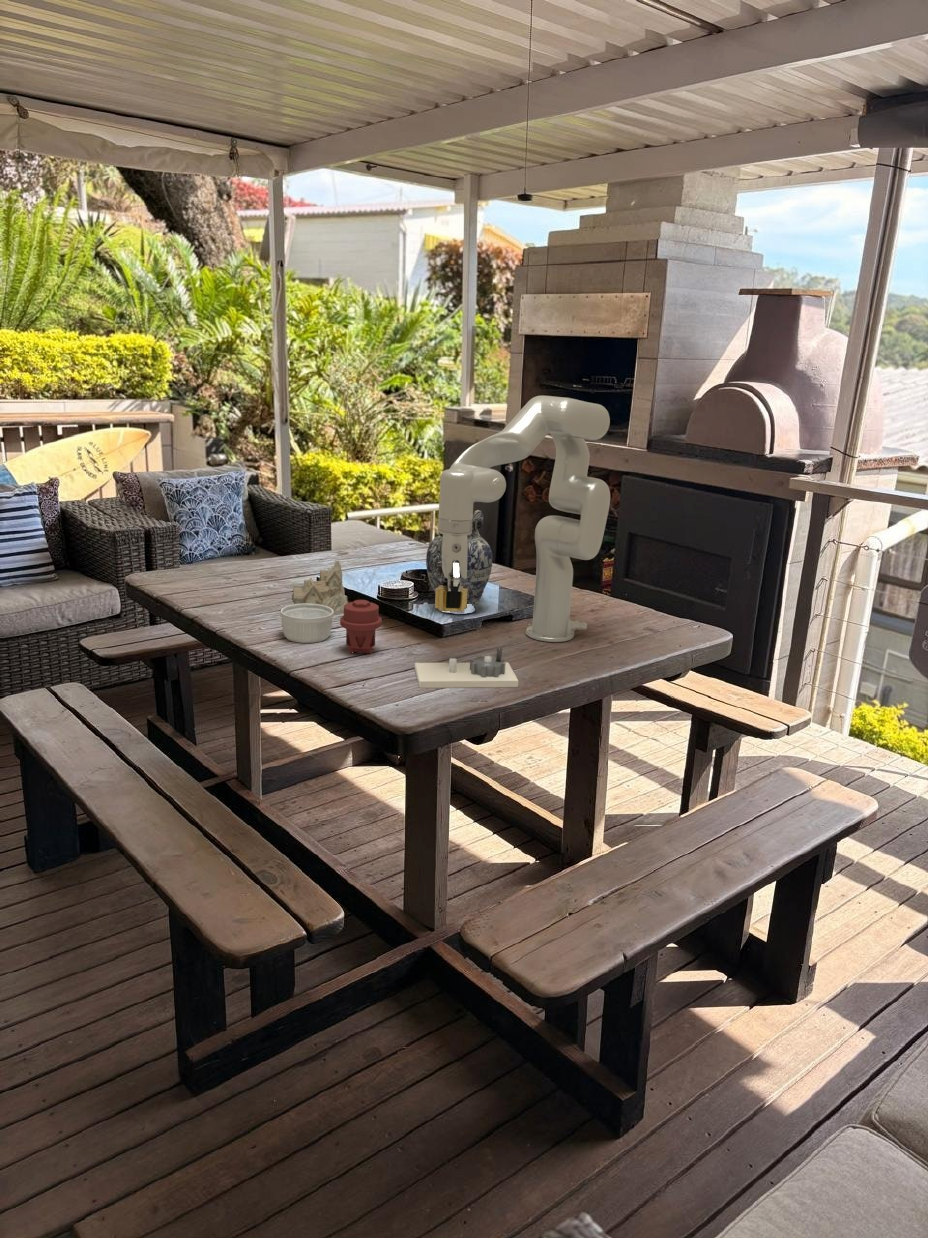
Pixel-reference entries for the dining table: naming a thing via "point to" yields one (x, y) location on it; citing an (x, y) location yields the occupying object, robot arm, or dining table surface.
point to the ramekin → (307, 622)
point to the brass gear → (441, 599)
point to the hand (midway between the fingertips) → (451, 602)
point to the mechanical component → (360, 625)
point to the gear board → (467, 673)
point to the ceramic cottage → (323, 590)
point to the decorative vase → (476, 562)
